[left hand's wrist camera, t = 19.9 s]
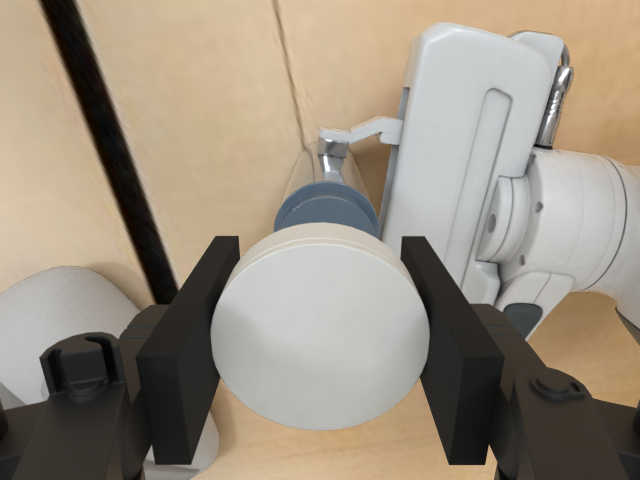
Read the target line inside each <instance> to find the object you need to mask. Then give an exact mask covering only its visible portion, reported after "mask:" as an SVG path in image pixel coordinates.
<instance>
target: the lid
mask: <svg viewBox="0 0 640 480" xmlns="http://www.w3.org/2000/svg"><path fill="white" fill-rule="evenodd" d="M210 333H211V345H212V353H213V359H214V362H215V366H216V368H217V370H218V372H219V374H220V376H221V378H222V380H223V381H224V383H225V384H226V386H227V387H228V389H229V390H230V391H231V392H232V393H233V394H234V396H235V397H236V398H237V399H239V400H240V401H241V402H242V403H243V404H244V405H245V406H247V407H248V408H249V409H251V410H252V411H254V412H255V413H257V414H259V415H261V416H262V417H264V418H266V419H268V420H271V421H273V422H276V423H278V424H281V425H285V426H288V427H292V428H298V429H303V430H315V431H321V430H336V429H343V428H348V427H352V426H356V425H359V424H362V423H365V422H368V421H370V420H372V419H374V418H376V417H378V416H380V415H382V414H383V413H385V412H387V411H388V410H390V409H391V408H392V407H394V406H395V405H396V404H397V403H399V402H400V401H401V400H402V399H403V398H404V397H405V396H406V395H407V394H408V393H409V392H410V390H411V389H412V388H413V386H414V385H415V384H416V382H417V380H418V379H419V377H420V375H421V373H422V371H423V369H424V366H425V364H426V361H427V356H428V348H429V338H430V327H429V321H428V317H427V312H426V310H425V307H424V305H423V302H422V300H421V298H420V296H419V294H418V291H417V289H416V287H415V285H414V282H413V280H412V278H411V276H410V274H409V272H408V270H407V269H406V267H405V265H404V264H403V262H402V261H401V260H400V259H399V257H398V256H397V255H396V254H395V253H394V252H393V251H392V250H391V249H390V248H389V247H388V246H387V245H385V244H384V243H383V242H381V241H380V240H378V239H377V238H375V237H373V236H372V235H370V234H368V233H366V232H364V231H361V230H358V229H356V228H353V227H349V226H345V225H341V224H334V223H306V224H300V225H295V226H291V227H288V228H284V229H282V230H279V231H277V232H275V233H272V234H270V235H269V236H267V237H265V238H264V239H262V240H260V241H259V242H258V243H256V244H255V245H254V246H253V247H251V248H250V249H249V250H248V251H247V252H246V253H245V254H244V255H243V256H242V257H241V259H240V260H239V262H238V263H237V264H236V266H235V267H234V269H233V271H232V273H231V275H230V277H229V279H228V281H227V283H226V285H225V288H224V290H223V292H222V294H221V296H220V298H219V301H218V303H217V305H216V308H215V311H214V314H213V317H212V323H211V328H210Z"/></svg>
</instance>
